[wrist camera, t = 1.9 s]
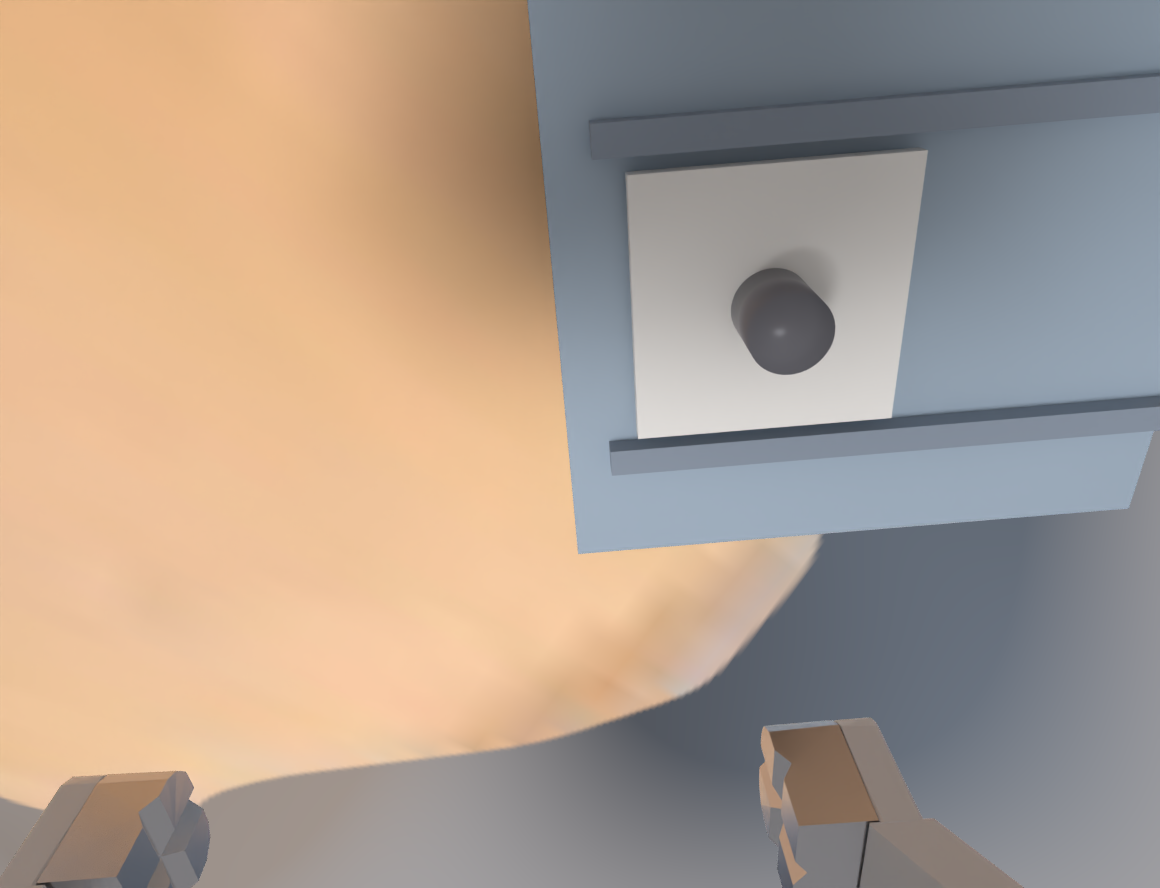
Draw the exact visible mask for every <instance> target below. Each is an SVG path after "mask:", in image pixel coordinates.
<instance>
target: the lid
mask: <svg viewBox="0 0 1160 888" xmlns="http://www.w3.org/2000/svg"><path fill="white" fill-rule="evenodd" d="M927 154H928V150H926V149H923V148H920V147H916V148H904V149H892V150H880V151H868V152H856V153H844V154H832V155H820V156H808V157H796V158H784V159H773V160H761V161H749V162H737V163H725V164H713V165H701V166H689V167H677V168H665V169H653V170H641V171H629V172H625V177H626V200H627V224H628V247H629V270H630V294H631V317H632V340H633V364H634V387H635V410H636V432H637V436H638V439H645V438H657V437H669V436H681V435H693V434H705V433H717V432H729V431H741V430H753V429H765V428H777V427H789V426H801V425H813V424H825V423H837V422H850V421H862V420H874V419H886V418H891V417H892V410H893V403H894V395H895V388H896V381H897V374H898V366H899V359H900V352H901V344H902V337H903V330H904V322H905V315H906V308H907V300H908V293H909V286H910V279H911V271H912V264H913V257H914V249H915V242H916V235H917V227H918V220H919V213H920V206H921V198H922V191H923V184H924V176H925V169H926V162H927Z"/></svg>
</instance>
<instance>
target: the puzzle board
mask: <svg viewBox="0 0 1160 888" xmlns="http://www.w3.org/2000/svg"><path fill="white" fill-rule="evenodd" d="M527 2H528V13H529V24H530V35H531V46H532V57H533V67H534V78H535V89H536V100H537V111H538V122H539V133H540V143H541V154H542V165H543V176H544V187H545V198H546V209H547V219H548V230H549V241H550V252H551V263H552V274H553V285H554V295H555V306H556V317H557V328H558V339H559V350H560V361H561V371H562V382H563V393H564V404H565V415H566V426H567V437H568V447H569V458H570V469H571V480H572V491H573V502H574V513H575V524H576V534H577V545H578V554H583V553H595V552H607V551H619V550H631V549H643V548H655V547H668V546H680V545H692V544H704V543H716V542H728V541H740V540H752V539H764V538H776V537H788V536H800V535H812V534H824V533H836V532H848V531H860V530H871V529H884V528H897V527H909V526H920V525H932V524H945V523H956V522H969V521H981V520H992V519H1005V518H1016V517H1028V516H1041V515H1053V514H1065V513H1078V512H1089V511H1102V510H1114V509H1126V508H1129V506H1130V503H1131V499H1132V496H1133V493H1134V490H1135V487H1136V484H1137V481H1138V478H1139V475H1140V472H1141V468H1142V466H1143V462H1144V459H1145V456H1146V453H1147V450H1148V447H1149V444H1150V441H1151V438H1152V434H1153V432H1154V431H1159V430H1160V0H527ZM916 147H920V148H923V149H926V150H928V154H927V162H926V169H925V176H924V184H923V191H922V198H921V206H920V213H919V220H918V227H917V235H916V242H915V249H914V257H913V264H912V271H911V279H910V286H909V293H908V300H907V308H906V315H905V322H904V330H903V337H902V344H901V352H900V359H899V366H898V374H897V381H896V388H895V395H894V403H893V410H892V417H891V418H886V419H874V420H862V421H850V422H837V423H825V424H813V425H801V426H789V427H777V428H765V429H753V430H741V431H729V432H717V433H705V434H693V435H681V436H669V437H657V438H645V439H638V436H637V432H636V410H635V387H634V364H633V340H632V317H631V294H630V270H629V247H628V224H627V200H626V177H625V172H629V171H641V170H653V169H665V168H677V167H689V166H701V165H713V164H725V163H737V162H749V161H761V160H773V159H784V158H796V157H808V156H820V155H832V154H844V153H856V152H868V151H880V150H892V149H904V148H916Z"/></svg>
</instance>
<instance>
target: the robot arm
mask: <svg viewBox="0 0 1160 888" xmlns="http://www.w3.org/2000/svg"><path fill="white" fill-rule="evenodd" d="M761 748H762V751H763V755H764V758H765V762H764V763H763V764H762V765H761V767H760V768H759V769H760V771H759V788H760V799H761V807H762V812H763V817H764V821H765V826H766V829H767V833H768V837H769V839H770V840H771V841H772V842H773V843H775V844H776V845H777V846H778V863H777V870H778V874H779V877H780V881H781V885H782V888H1024V887H1022V886H1021V885H1019V884H1018V883H1017V882H1016V881H1015V880H1013V879H1012V878H1011V877H1009V876H1008V875H1007V874H1005V873H1004V872H1003V871H1002V870H1000V869H999V868H998V867H996V866H995V865H994V864H992V863H991V862H990V861H988V860H987V859H986V858H985V857H983V856H982V855H981V854H979V853H978V852H977V851H976V850H974V849H973V848H972V847H970V846H969V845H968V844H966V843H965V842H964V841H963V840H961V839H960V838H959V837H957V836H956V835H955V834H953V833H952V832H951V831H950V830H948V829H947V828H946V827H944V826H943V825H942V824H940V823H939V822H938V821H937V820H935V819H923V818H922V816H921V814H920V812H919V810H918V808H917V806H916V804H915V802H914V800H913V798H912V795H911V793H910V791H909V789H908V787H907V785H906V783H905V781H904V779H903V777H902V775H901V773H900V771H899V768H898V766H897V764H896V762H895V760H894V758H893V756H892V754H891V752H890V750H889V748H888V746H887V744H886V742H885V740H884V737H883V735H882V733H881V731H880V729H879V727H878V725H877V723H876V722H875V721H874V720H873V719H871V718H858V719H845V720H835V721H832V720H827V721H817V722H805V723H793V724H782V725H771V726H764V727H763V730H762V734H761ZM193 789H194V787H193V785H192V783H191V781H190V779H189V777H188V775H187V773H186V772H183V771H169V772H148V773H128V774H108V775H95V776H78V777H72V778H71V779H69V780H68V781H67V782H65V783H64V784H63V785H61V786H60V788H59V789H58V791H57V792H56V794H55V795H54V797H53V798H52V800H51V801H50V803H49V804H48V806H47V807H46V809H45V810H44V812H43V813H42V815H41V816H40V818H39V819H38V821H37V822H36V824H35V825H34V827H33V828H32V830H31V831H30V833H29V835H28V836H27V837H26V839H25V840H24V842H23V843H22V845H21V847H20V848H19V850H18V851H17V853H16V854H15V856H14V857H13V859H12V860H11V862H10V863H9V865H8V866H7V868H6V869H5V871H4V872H3V874H2V875H1V877H0V888H191V887H192V886H193V885H195V883H197V882H198V881H199V878H200V876H201V873H202V871H203V868H204V866H205V863H206V861H207V855H208V849H209V842H210V830H209V824H208V823H209V822H208V819H207V817H206V815H205V812H204V809H202V808H201V807H199V806H198V805H196V804H195V803H193V802H192V801H190V800H189V797H190V795H191V793H192V791H193Z"/></svg>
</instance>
